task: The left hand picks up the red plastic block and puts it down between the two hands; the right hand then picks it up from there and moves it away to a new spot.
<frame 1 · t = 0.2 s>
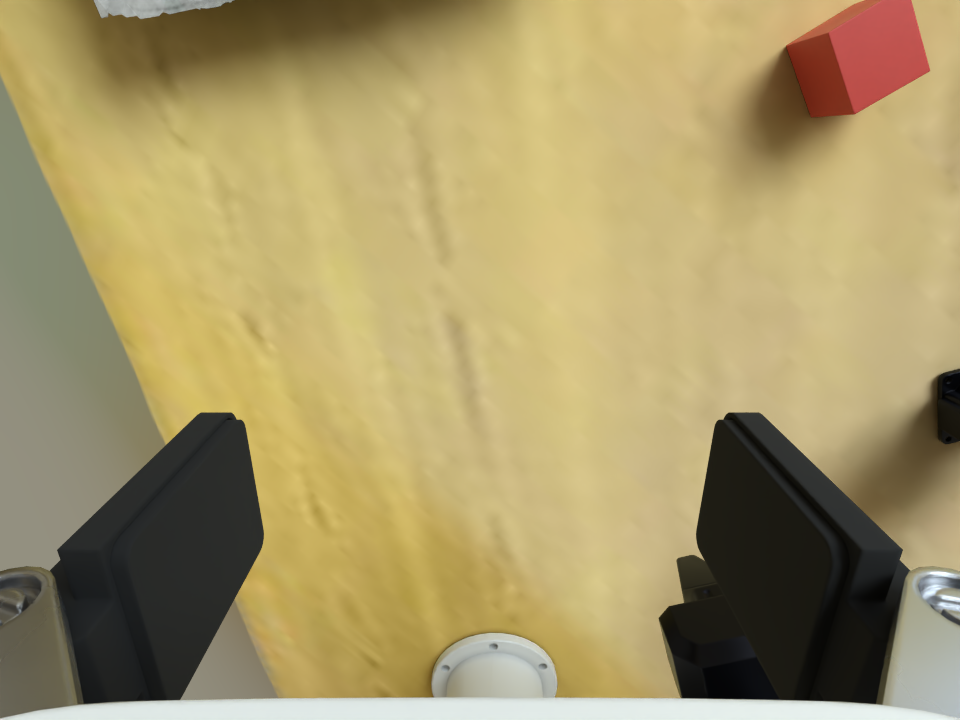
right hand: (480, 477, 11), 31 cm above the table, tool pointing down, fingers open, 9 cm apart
block: (831, 62, 36), on the table
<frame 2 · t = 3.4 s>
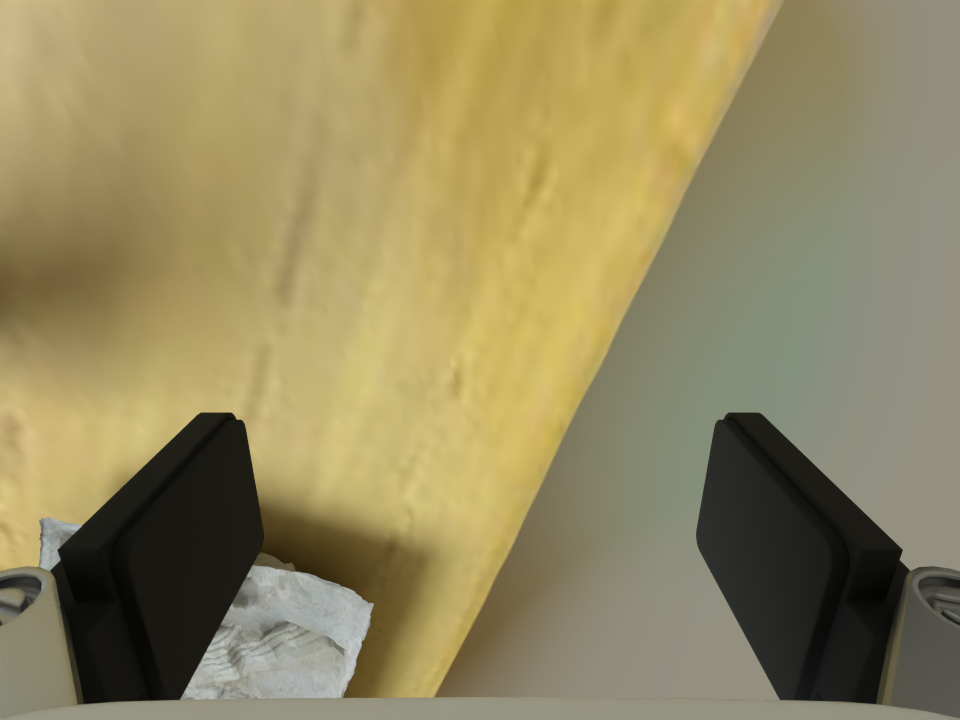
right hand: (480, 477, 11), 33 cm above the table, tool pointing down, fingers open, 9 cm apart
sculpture: (203, 656, 58), on the table
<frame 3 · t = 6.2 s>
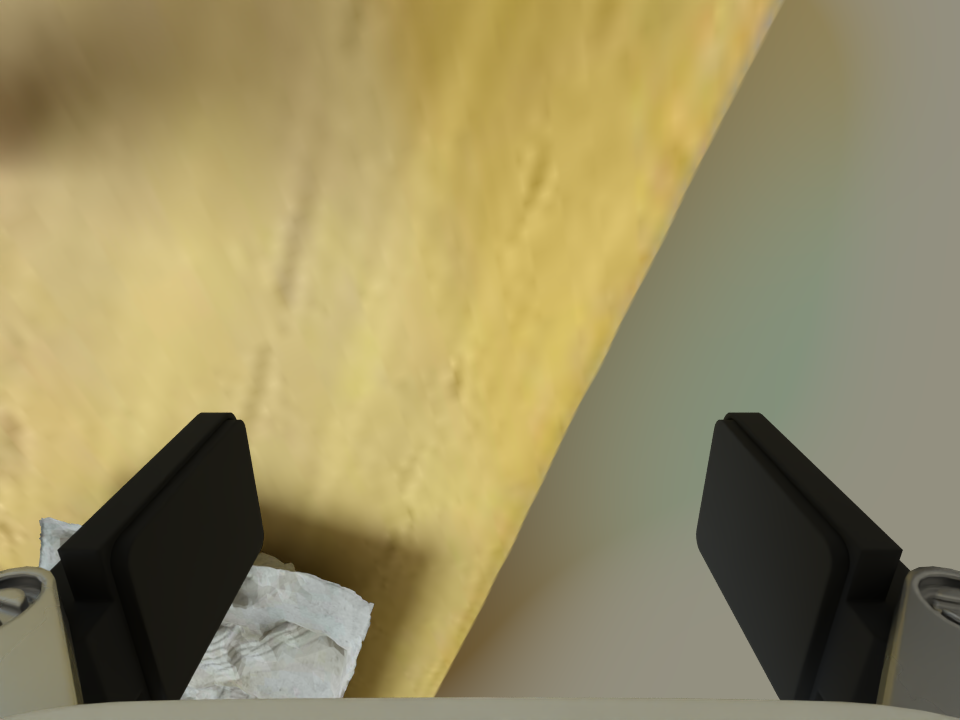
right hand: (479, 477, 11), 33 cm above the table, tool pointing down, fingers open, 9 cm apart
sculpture: (203, 656, 58), on the table
when the left hand's fingers open (2 cm above the table, at t = 8.9 s): block drops 1 cm, on the table.
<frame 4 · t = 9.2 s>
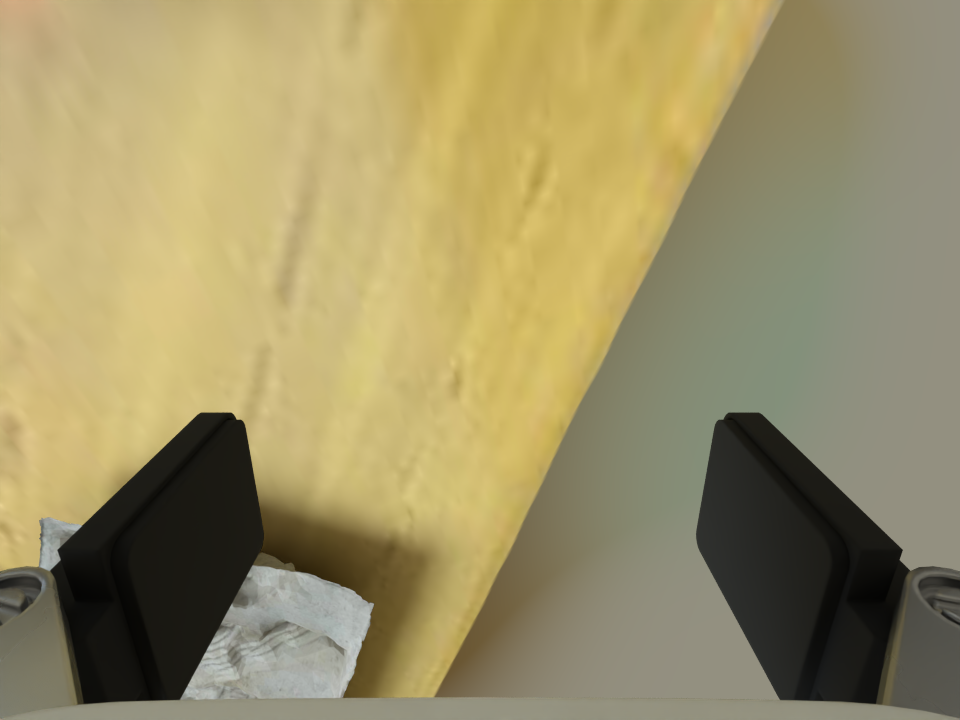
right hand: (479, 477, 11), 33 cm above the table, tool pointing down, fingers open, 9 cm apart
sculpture: (203, 656, 58), on the table
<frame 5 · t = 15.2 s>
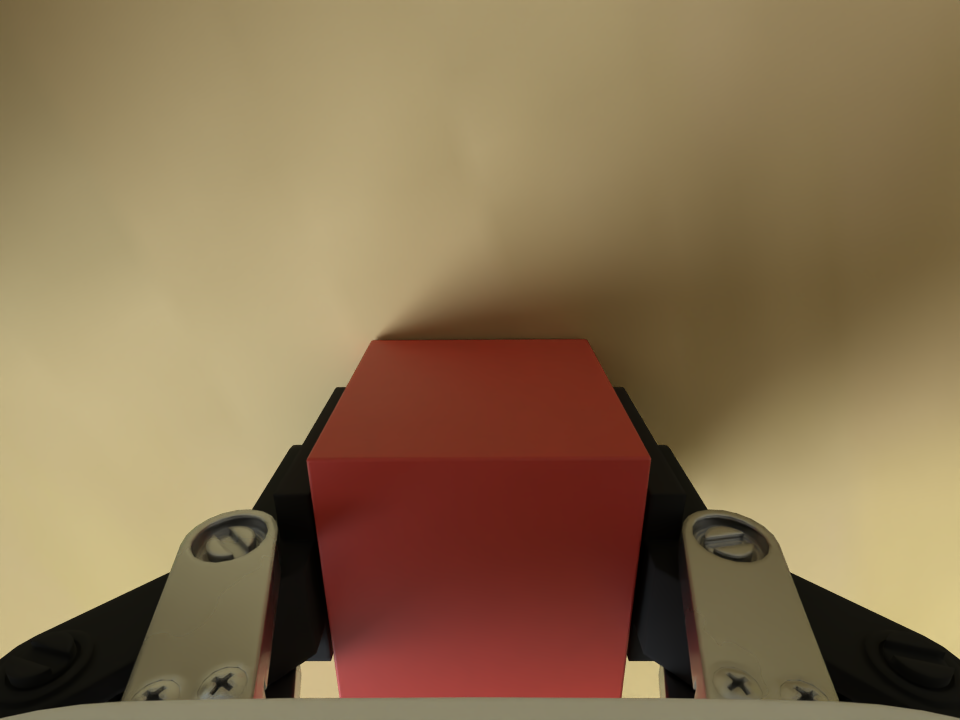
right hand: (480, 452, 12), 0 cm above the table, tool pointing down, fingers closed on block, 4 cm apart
block: (479, 443, 12), on the table, touching right hand
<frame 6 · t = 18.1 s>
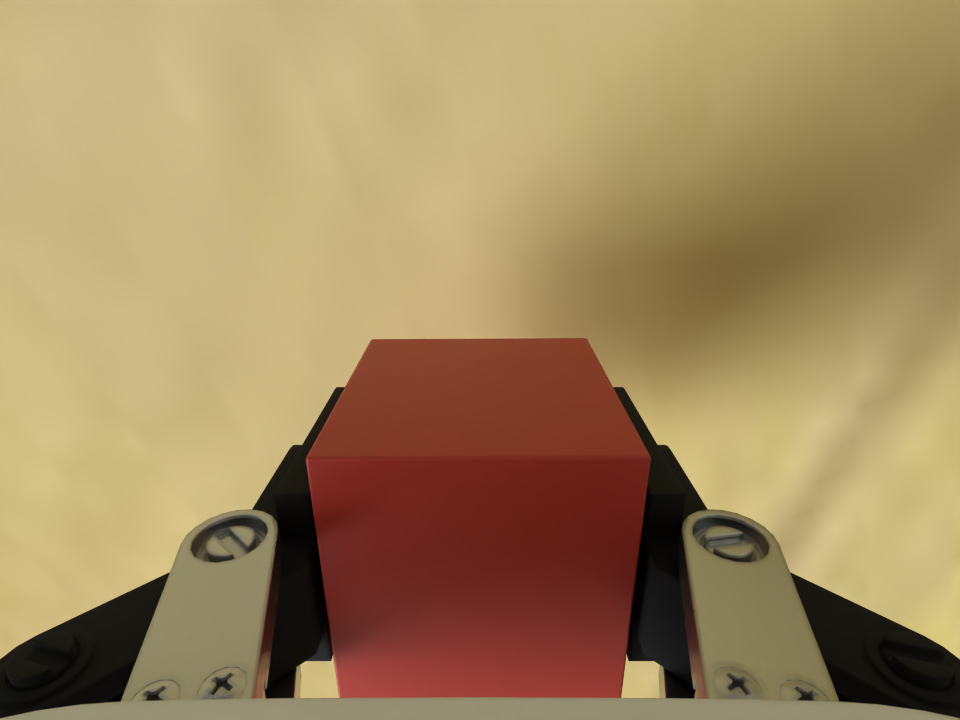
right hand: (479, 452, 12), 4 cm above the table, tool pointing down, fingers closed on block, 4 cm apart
block: (479, 442, 12), point 4 cm above the table, touching right hand
when the right hand's fingers open (1 cm above the table, at t = 21.1 s): block drops 1 cm, on the table.
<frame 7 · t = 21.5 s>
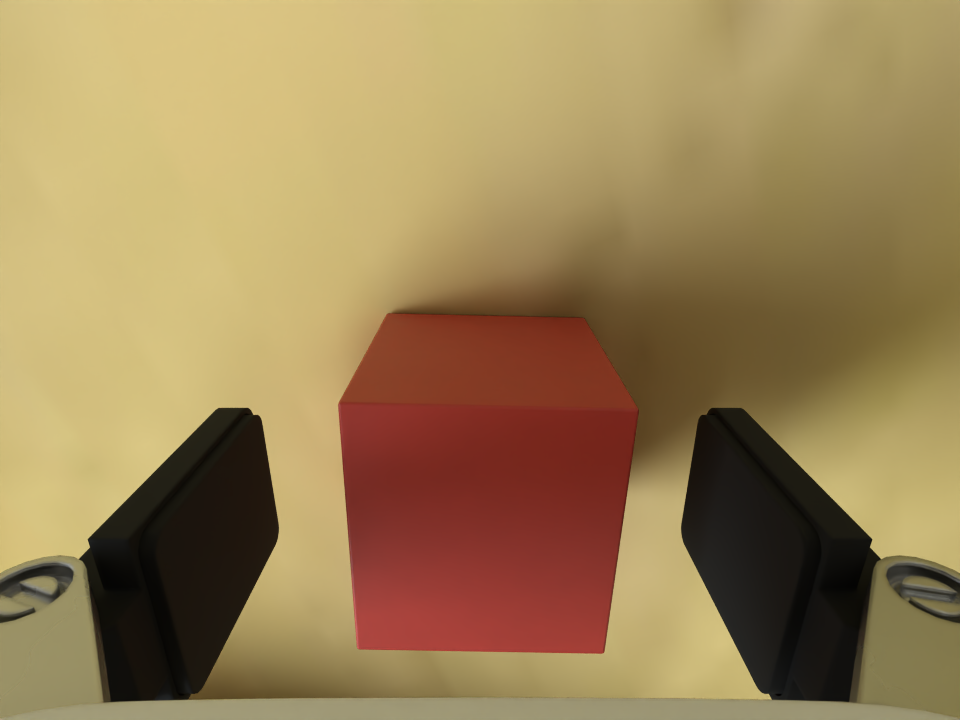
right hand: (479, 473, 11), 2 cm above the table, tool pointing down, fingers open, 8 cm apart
block: (483, 412, 13), on the table
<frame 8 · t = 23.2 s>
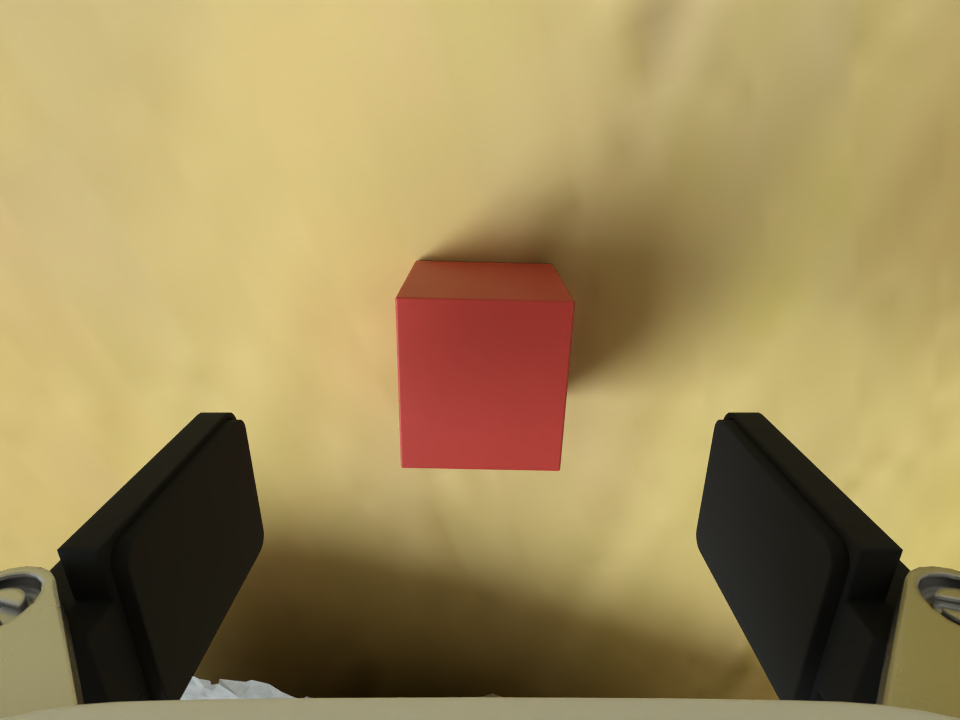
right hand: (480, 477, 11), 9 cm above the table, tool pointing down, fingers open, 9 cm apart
block: (482, 333, 19), on the table
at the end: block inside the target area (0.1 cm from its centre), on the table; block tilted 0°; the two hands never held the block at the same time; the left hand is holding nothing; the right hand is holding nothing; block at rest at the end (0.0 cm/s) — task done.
